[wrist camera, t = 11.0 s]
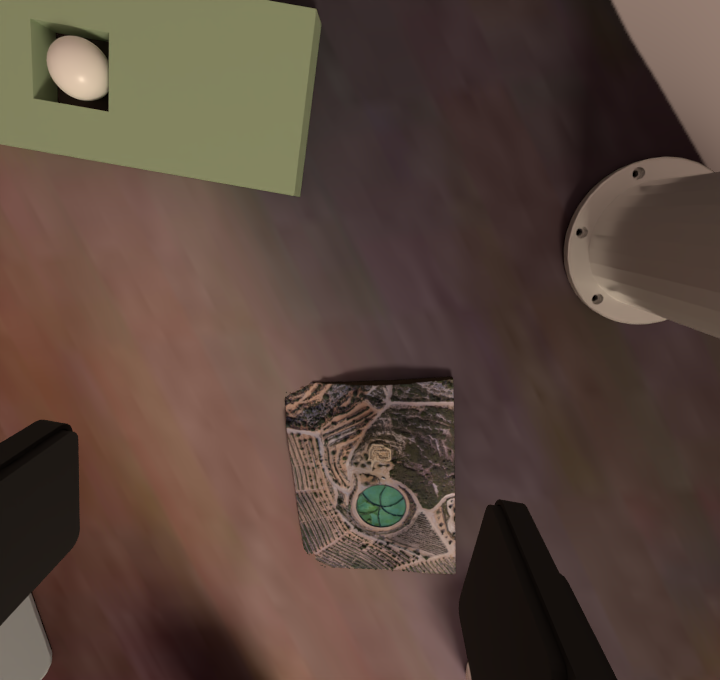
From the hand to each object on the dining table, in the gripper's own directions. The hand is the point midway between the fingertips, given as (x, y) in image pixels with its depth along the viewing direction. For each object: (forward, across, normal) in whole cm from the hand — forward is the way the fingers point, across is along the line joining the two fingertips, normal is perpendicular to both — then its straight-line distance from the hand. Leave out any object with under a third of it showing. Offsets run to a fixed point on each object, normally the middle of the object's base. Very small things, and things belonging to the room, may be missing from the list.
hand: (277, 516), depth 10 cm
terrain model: (+29, -5, +17) cm, 34 cm away
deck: (+28, +17, -13) cm, 35 cm away
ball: (+26, +22, -13) cm, 37 cm away
